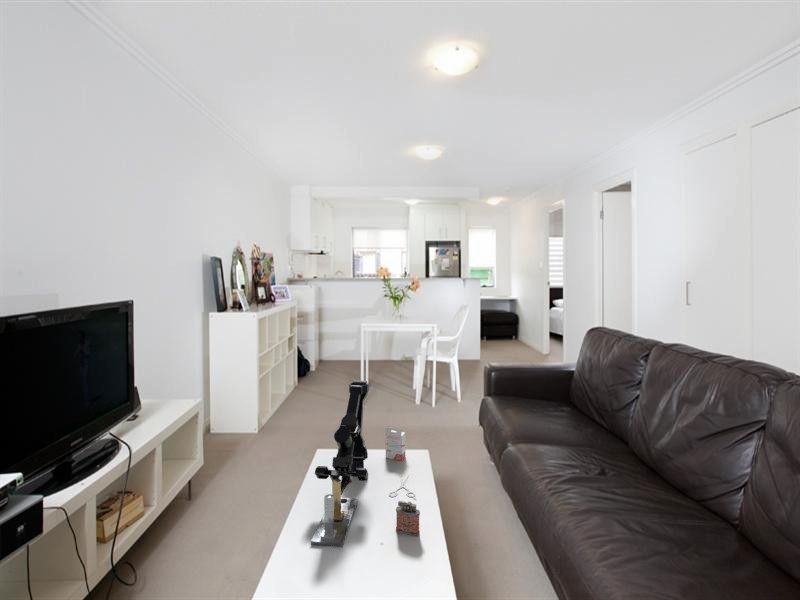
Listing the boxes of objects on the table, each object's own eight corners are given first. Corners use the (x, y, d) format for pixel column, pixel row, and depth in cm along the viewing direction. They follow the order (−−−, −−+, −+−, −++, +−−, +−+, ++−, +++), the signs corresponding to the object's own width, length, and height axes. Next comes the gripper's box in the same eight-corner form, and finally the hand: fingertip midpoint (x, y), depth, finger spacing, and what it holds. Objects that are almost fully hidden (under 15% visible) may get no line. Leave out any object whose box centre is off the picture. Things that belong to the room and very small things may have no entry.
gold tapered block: (331, 513, 135) (331, 478, 134) (344, 513, 135) (344, 478, 134) (329, 519, 131) (328, 483, 131) (341, 520, 131) (341, 484, 130)
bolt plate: (331, 500, 146) (331, 463, 145) (357, 501, 145) (357, 465, 144) (310, 545, 121) (310, 501, 120) (342, 547, 120) (342, 502, 119)
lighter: (420, 531, 128) (421, 502, 127) (417, 538, 124) (418, 507, 124) (397, 526, 130) (398, 497, 130) (394, 532, 127) (394, 503, 127)
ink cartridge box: (405, 456, 183) (406, 426, 182) (401, 461, 178) (402, 429, 178) (389, 453, 186) (389, 423, 186) (385, 457, 182) (385, 427, 181)
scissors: (388, 498, 147) (392, 472, 167) (388, 500, 147) (392, 474, 167) (416, 499, 146) (416, 473, 166) (416, 501, 146) (416, 474, 166)
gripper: (316, 444, 140) (306, 490, 129) (367, 446, 138) (361, 493, 128) (322, 456, 148) (313, 500, 138) (370, 458, 147) (365, 503, 136)
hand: (337, 499), depth 135 cm, fingers closed
